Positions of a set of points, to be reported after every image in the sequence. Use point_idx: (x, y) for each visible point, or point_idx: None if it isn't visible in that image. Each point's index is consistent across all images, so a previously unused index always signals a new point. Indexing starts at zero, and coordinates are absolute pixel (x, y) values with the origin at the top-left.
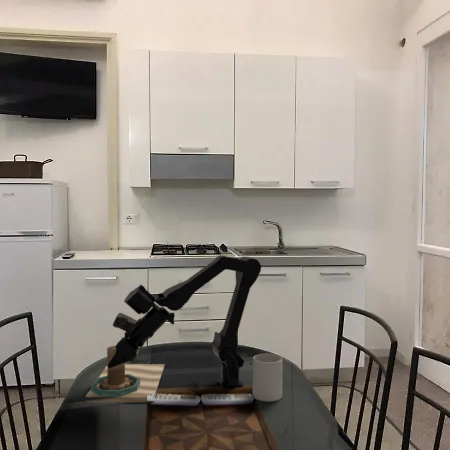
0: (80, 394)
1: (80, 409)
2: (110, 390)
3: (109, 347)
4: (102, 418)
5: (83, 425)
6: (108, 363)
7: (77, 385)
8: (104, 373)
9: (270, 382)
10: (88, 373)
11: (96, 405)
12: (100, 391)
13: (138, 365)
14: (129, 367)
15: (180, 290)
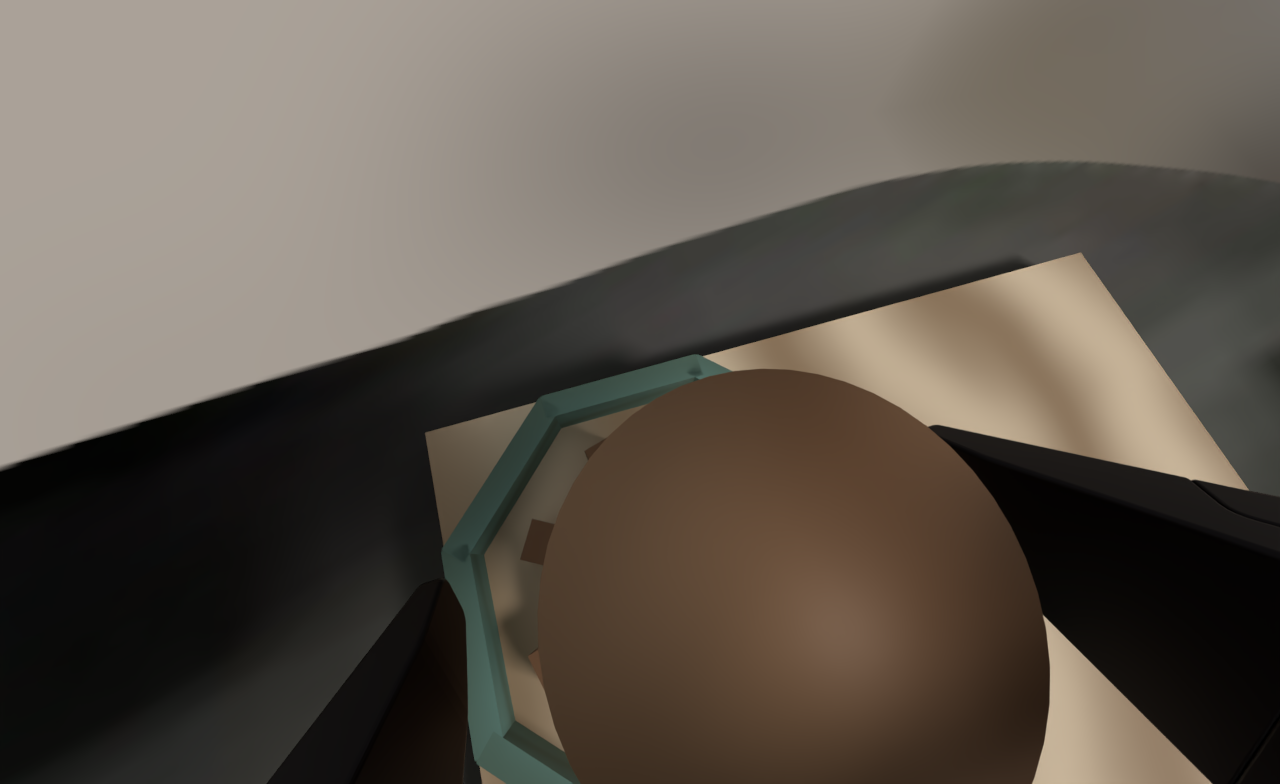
0: (566, 338)
1: (321, 476)
2: (470, 636)
3: (769, 398)
4: (161, 746)
5: (38, 657)
6: (391, 622)
7: (700, 243)
8: (906, 324)
9: None
10: (909, 202)
11: (403, 554)
12: (447, 543)
13: None
14: (1131, 450)
15: None
